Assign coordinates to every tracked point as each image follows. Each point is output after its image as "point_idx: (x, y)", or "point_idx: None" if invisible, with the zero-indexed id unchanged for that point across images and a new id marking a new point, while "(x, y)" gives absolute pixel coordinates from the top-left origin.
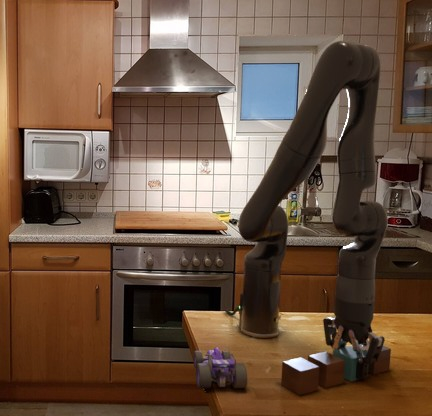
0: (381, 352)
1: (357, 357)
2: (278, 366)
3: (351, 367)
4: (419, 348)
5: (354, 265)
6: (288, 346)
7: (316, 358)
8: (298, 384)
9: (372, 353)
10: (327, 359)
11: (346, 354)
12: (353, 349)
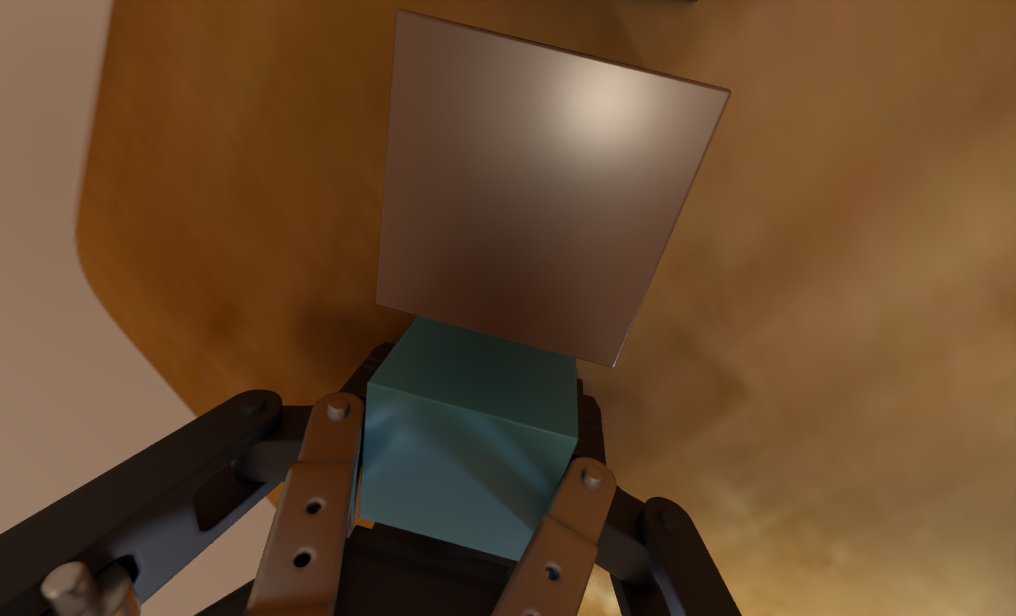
0: None
1: (353, 424)
2: (970, 100)
3: (401, 340)
4: None
5: None
6: (967, 472)
7: (594, 91)
8: None
9: (132, 460)
10: (489, 187)
11: (449, 428)
12: (350, 471)
